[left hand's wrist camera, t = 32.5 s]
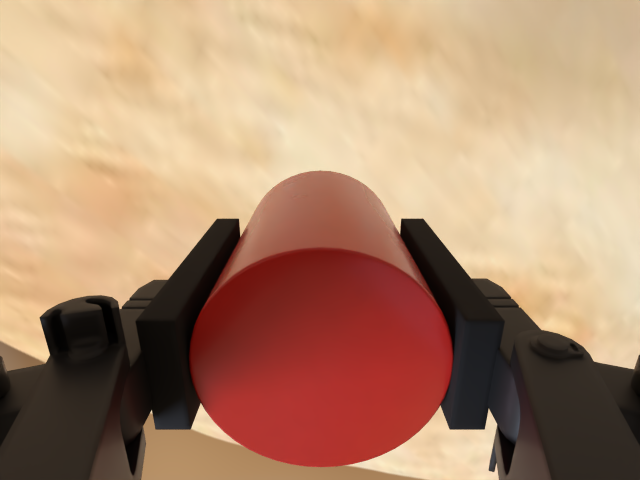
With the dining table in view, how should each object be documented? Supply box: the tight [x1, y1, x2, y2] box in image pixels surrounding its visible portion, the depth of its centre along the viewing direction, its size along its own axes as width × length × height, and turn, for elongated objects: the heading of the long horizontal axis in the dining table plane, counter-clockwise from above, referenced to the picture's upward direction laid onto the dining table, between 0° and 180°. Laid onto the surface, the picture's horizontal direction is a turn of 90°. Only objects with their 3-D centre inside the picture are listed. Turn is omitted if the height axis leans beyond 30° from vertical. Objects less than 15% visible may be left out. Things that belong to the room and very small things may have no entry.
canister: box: [189, 171, 454, 467], centre depth 12 cm, size 6×6×8 cm
